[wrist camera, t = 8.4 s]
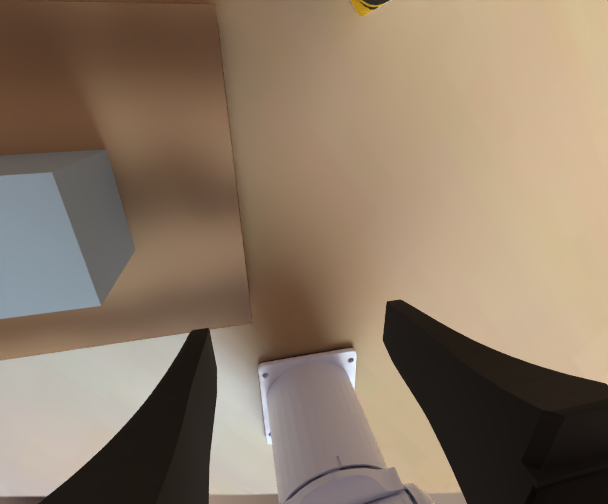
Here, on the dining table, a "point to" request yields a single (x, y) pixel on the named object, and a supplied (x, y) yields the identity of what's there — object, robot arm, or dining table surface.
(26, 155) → the slate block
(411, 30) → the dining table surface
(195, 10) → the walnut plinth
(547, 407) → the robot arm
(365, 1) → the medicine bottle
